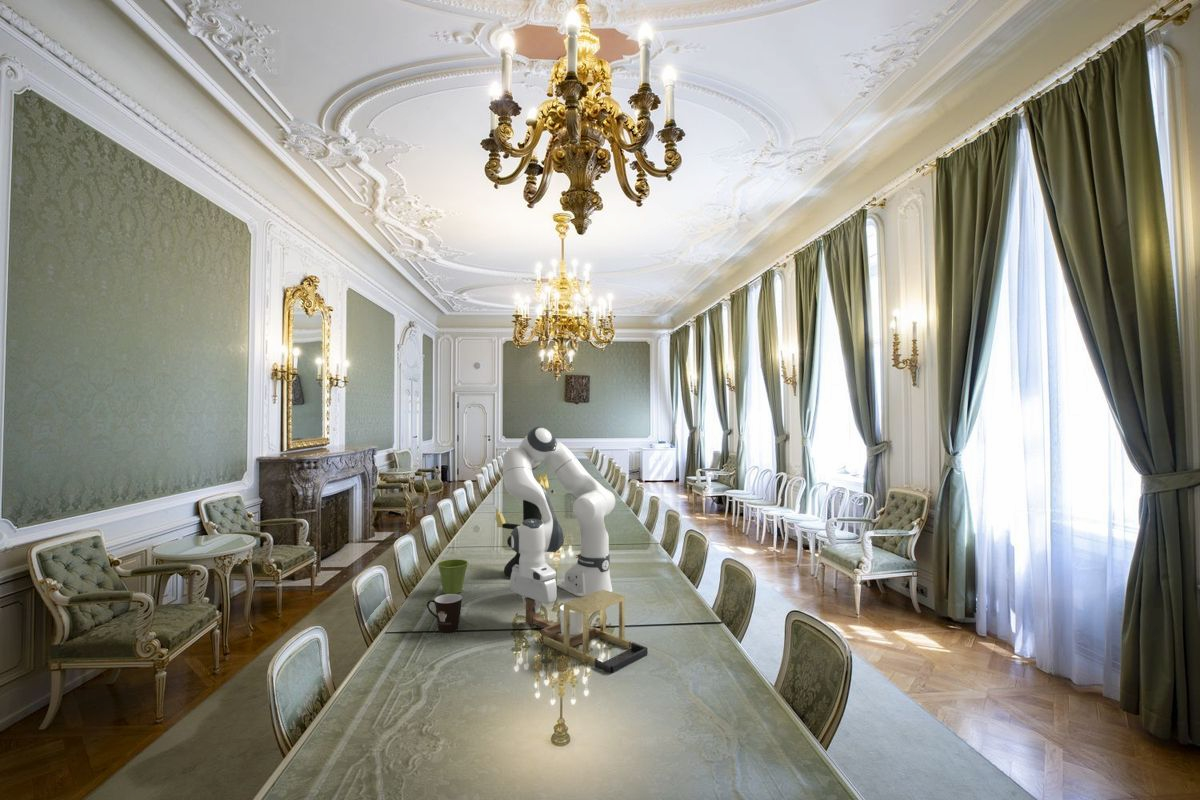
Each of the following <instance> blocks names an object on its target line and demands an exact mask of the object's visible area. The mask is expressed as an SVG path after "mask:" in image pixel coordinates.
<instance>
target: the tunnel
mask: <svg viewBox="0 0 1200 800" xmlns="http://www.w3.org/2000/svg"><path fill="white" fill-rule="evenodd" d="M625 601H626V597H625V595H623V594H618V593H617V592H614V591H612V592H610V591H606V590H600V591H597V592H594V593H592V594H589V595H586V596H579V597H578V598H576V599H572V600H570V601H567V602H565V603H563V604H564V644H563V643H561V642H559V641H556V640H554V639H552V638H549V637H547V636H545V637H543V638H542V639H543V644H544V645H546V646H548V647H550V648H551V649H552V648H553V649H555V650H557V651H559V652H561V653H563V655H567V656H570V657H572V658H575V659H578V660H579V661H581V662H582V663H583V664H588V665H591V666H593V667H595V668H596V669H599V670H601V671H603V672H604V673H608V674H614V673H616V672H617V671H620V670H621V669H624V668H626V667H628V666H629V665H631V664H633V663H635V662H637V661H639V660H641V659H642V658H645V657H646V656H647V655H648V647H646V646H645V645H643V644H639V643H636V642H633V641H631V640H629V639H626V638H625V637H626V636H625V632H626V631H625V629H626V627H625V625H626V622H625V621H626V619H625V618H626V617H625V616H626V615H625V614H626V613H625V610H626V609H625V608H626V607H625V605H626V603H625ZM616 604H618V635H616V634H613V633H610V632H608V631H606V629H607V628H606V626H607V625H606V621H607V618H606V615H607V610H606V608H608V607H611V606H614V605H616ZM570 610H572V611H575V612H578V613H580V614H583V643H582V650H580V649H578V648H575V647H570V646H569V636H570ZM598 611H599V613H600V614H599V617H600V618H599V619H600V623H599V626H600V627H599V628H596V627H594V626H591V625H589V624H590V623H589V622H590V621H589V620H590V618H589V617H590V614H593V613H596V612H598ZM589 627H592V628H595V629H596V637H597V638H599V637H600V638H599V639H602V640H605V641H607V642H610V643H613V644H615V645H618V646H620V647H623V648H625V649H627V650H625V651H623V652H621V653H619V654H616V655H615V656H612V657H610V658H609V659H607V660H604V661H601V660H600V659H598V658H597V656H593V655H592V654H590V653H589V647H590V645H589V642H590V640H589Z"/></svg>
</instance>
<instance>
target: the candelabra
mask: <svg viewBox="0 0 1200 800" xmlns="http://www.w3.org/2000/svg"><path fill="white" fill-rule="evenodd" d="M547 476H548V475H547V472H546V471H545V472H544V473H543V474H542V473H541V472H540V471H539V472H538V473H537V476H536V478H535V480H536V481H537V482H538V483H539V484H541V485H543V486H544V488H545V490H546V492H547V491H548V490H549V487H550V486H549V480H548V477H547ZM522 508H523V509H522V519H523V520H522V521H524V520H526V519H538V520H540V521H542V520H543V518H542V515H541V512H540V510H539V508H538V506H536V505H535V504H533V503H531V502H529V501H526V500H522ZM495 522H496V524H497V525H496V527H497V528H503V529H507V530H513V529H514V528H515V527H517V526H520V525H521V524H517V523H509V522H506V519H505V517H504V515H503V514H502V513H501V512H500V511H499V510H498V509H497V508H495ZM506 542H507V545H508V547H510V548H511V535H510V536H508V538H507V540H506ZM515 553H516V554H515V555H514V557H512V558H511V559H510V560H509V561H508V562H507V563H506V564H505V566H504V568H503V574H504V575H506V576H507V577H508V578H510V579H511V573H512V568H513V566H514V565H515V564H518V565H519V558H520V553H517V552H515Z"/></svg>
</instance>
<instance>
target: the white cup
mask: <svg viewBox="0 0 1200 800" xmlns="http://www.w3.org/2000/svg"><path fill="white" fill-rule="evenodd" d="M559 619H560V623H561V633H560V636H563V637H564V603H563V604H561V605H560V606H559ZM581 633H583V614H580V613H578V612H575V611H572V610H570V636H569V638H571V637H573V636H576V635H578V634H581Z"/></svg>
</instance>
